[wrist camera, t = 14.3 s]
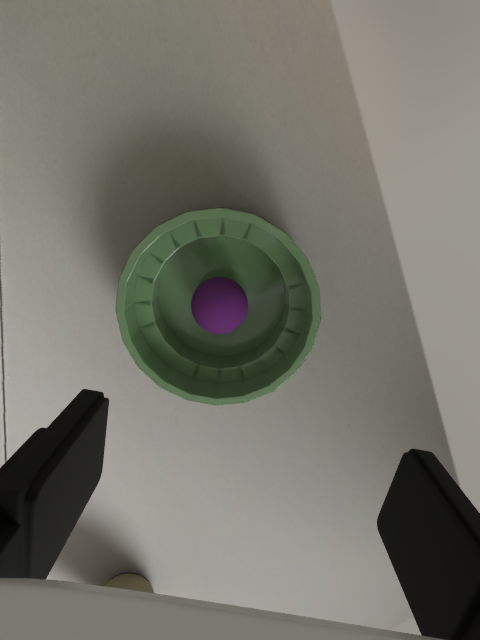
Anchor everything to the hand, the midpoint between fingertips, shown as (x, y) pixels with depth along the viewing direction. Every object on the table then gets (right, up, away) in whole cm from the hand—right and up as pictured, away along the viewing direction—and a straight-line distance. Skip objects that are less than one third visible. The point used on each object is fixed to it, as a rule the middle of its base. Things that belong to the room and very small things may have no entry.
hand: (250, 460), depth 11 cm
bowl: (-2, +6, +19) cm, 20 cm away
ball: (-2, +6, +18) cm, 19 cm away
